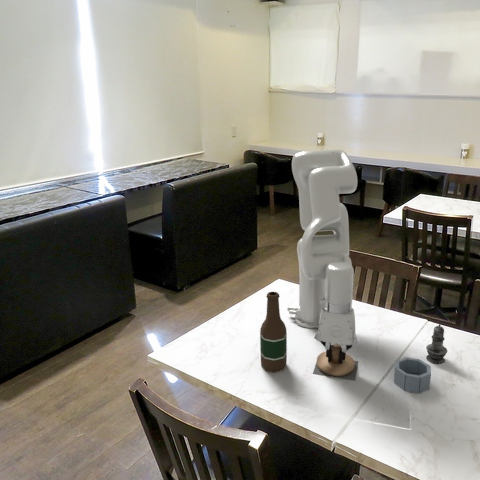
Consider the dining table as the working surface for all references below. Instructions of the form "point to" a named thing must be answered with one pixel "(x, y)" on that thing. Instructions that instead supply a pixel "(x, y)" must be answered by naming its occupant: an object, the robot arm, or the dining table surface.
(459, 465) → the dining table surface
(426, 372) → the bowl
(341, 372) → the lid
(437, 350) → the ornate incense burner
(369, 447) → the dining table surface
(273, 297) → the beer bottle
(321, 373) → the mat
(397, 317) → the dining table surface
